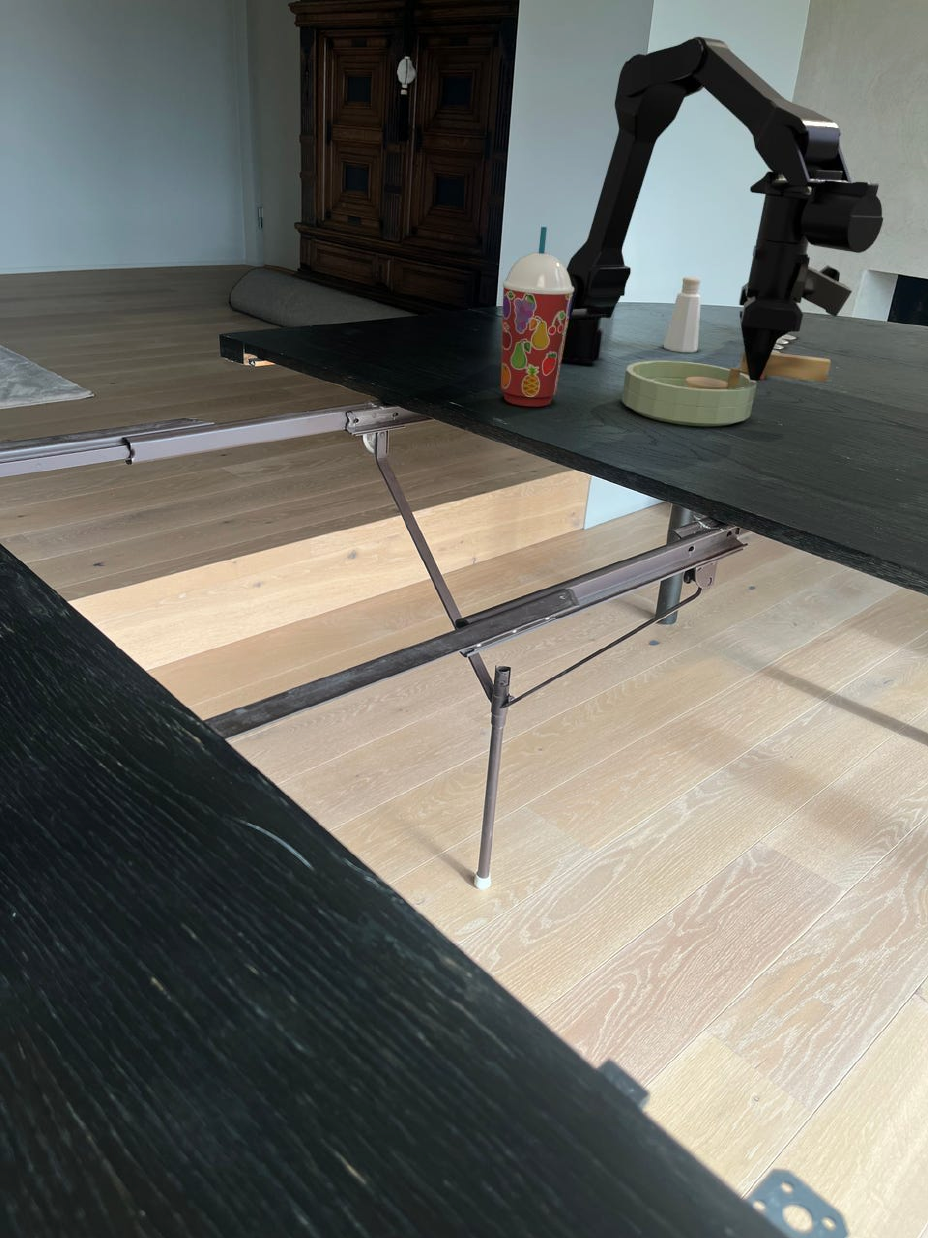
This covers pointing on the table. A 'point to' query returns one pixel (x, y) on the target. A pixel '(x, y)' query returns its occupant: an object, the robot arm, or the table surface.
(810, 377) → the wooden z bracket
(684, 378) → the bowl
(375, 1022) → the table surface
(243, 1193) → the table surface
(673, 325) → the salt shaker
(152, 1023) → the table surface
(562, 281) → the smoothie
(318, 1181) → the table surface
